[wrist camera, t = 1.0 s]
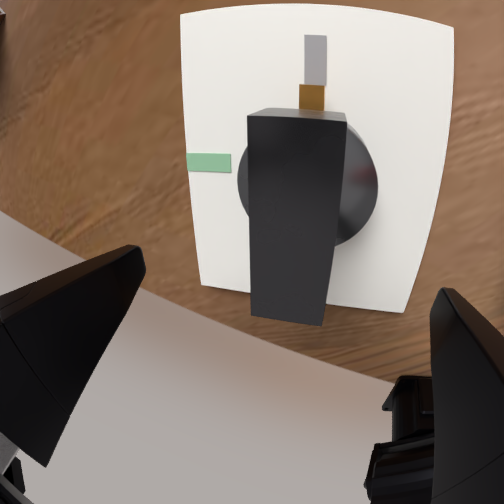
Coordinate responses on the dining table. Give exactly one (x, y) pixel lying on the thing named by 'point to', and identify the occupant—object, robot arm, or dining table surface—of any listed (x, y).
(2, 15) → the food container
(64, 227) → the dining table surface
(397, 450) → the robot arm
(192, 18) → the lock base plate
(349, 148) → the black rotary knob
